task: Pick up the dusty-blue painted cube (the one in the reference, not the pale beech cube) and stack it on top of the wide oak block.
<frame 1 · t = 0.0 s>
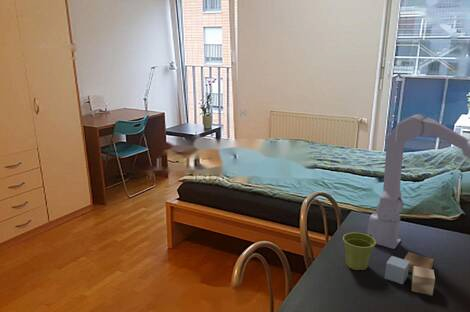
beech cube: (421, 288, 104), on the table
plant pot: (356, 266, 114), on the table
blue cube: (395, 277, 109), on the table
oak block: (416, 269, 113), on the table
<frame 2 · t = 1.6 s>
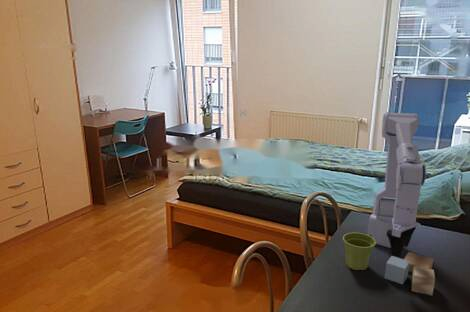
hand: (399, 250, 106), 9 cm above the table, fingers open, 7 cm apart
nothing on the table moved.
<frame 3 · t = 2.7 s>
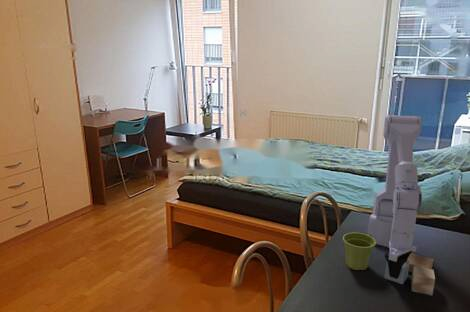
hand: (396, 272, 108), 1 cm above the table, fingers closed on blue cube, 5 cm apart
blue cube: (396, 277, 109), on the table, touching gripper
everything else where it was.
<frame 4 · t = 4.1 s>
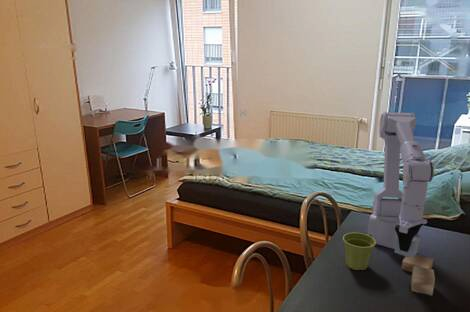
hand: (406, 246, 108), 9 cm above the table, fingers closed on blue cube, 5 cm apart
blue cube: (406, 251, 108), point 7 cm above the table, touching gripper
everything else where it was.
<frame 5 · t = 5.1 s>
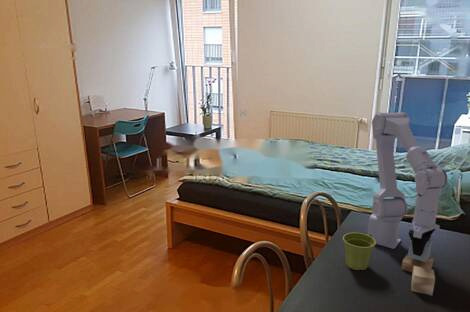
hand: (419, 251, 112), 6 cm above the table, fingers closed on blue cube, 5 cm apart
blue cube: (418, 256, 112), point 4 cm above the table, touching gripper
everything else where it was.
when the fingers open (6 cm above the table, at t = 5.6 s): blue cube drops 1 cm, point 3 cm above the table.
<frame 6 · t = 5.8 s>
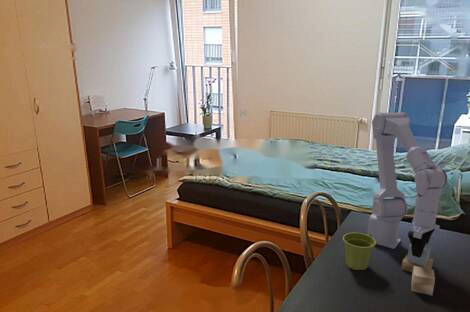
hand: (419, 251, 112), 6 cm above the table, fingers open, 7 cm apart
blue cube: (418, 260, 113), point 3 cm above the table
everything else where it was.
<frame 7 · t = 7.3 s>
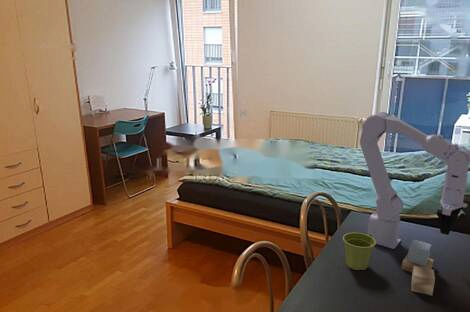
hand: (447, 229, 116), 10 cm above the table, fingers open, 7 cm apart
nothing on the table moved.
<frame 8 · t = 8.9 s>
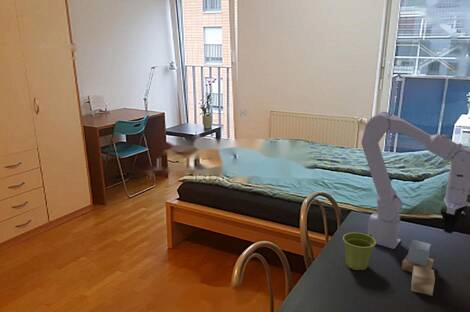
hand: (450, 228, 117), 10 cm above the table, fingers open, 7 cm apart
blue cube: (417, 260, 113), point 3 cm above the table, touching oak block
oak block: (416, 269, 113), on the table, touching blue cube
everything else where it was.
at the end: blue cube 0.1 cm off-centre on the oak block, point 3.0 cm above the oak block's base; blue cube tilted 0°; the gripper is holding nothing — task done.
